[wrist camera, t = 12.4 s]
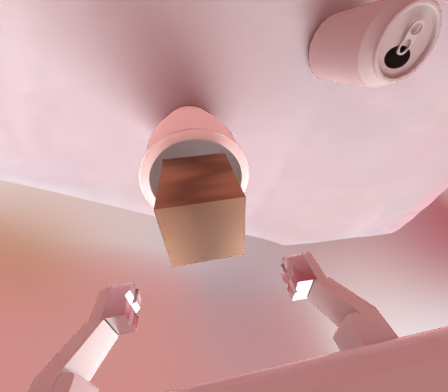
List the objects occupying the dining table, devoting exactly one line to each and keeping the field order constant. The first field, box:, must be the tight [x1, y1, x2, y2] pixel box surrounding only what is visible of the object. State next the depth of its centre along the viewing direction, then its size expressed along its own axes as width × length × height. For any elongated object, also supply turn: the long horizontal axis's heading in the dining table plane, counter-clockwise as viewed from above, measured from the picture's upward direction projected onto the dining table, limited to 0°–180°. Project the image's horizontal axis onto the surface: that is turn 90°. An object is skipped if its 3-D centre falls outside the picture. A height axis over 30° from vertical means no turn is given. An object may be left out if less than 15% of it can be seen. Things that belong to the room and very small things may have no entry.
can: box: [308, 0, 442, 88], centre depth 23 cm, size 8×8×12 cm
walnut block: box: [154, 153, 246, 267], centre depth 16 cm, size 6×6×7 cm
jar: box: [139, 106, 249, 207], centre depth 25 cm, size 11×10×15 cm
